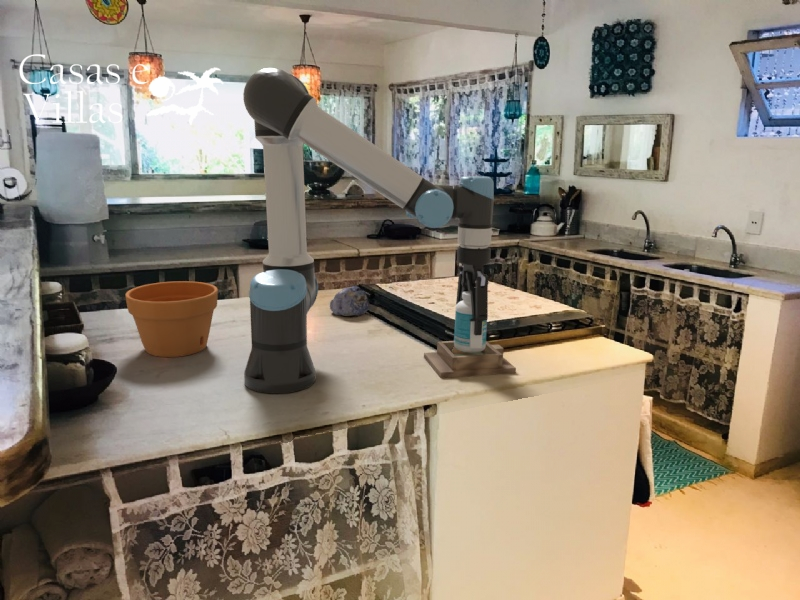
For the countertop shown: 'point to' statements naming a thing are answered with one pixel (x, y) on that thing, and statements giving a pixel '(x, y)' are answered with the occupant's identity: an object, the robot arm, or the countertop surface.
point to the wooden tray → (468, 361)
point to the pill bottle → (466, 326)
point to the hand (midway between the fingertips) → (469, 342)
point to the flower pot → (173, 316)
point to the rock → (350, 302)
